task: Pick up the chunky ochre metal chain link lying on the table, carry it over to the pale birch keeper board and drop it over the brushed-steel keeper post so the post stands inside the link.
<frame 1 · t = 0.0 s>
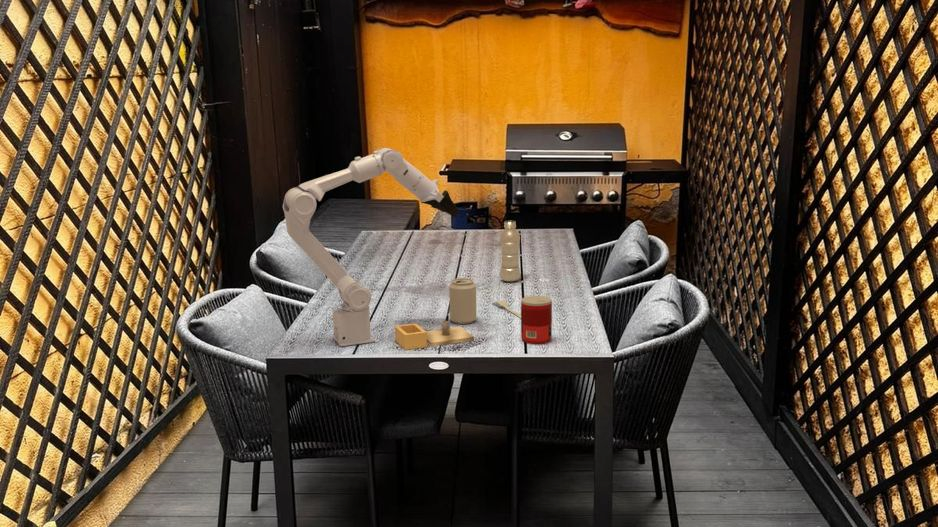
hand: (451, 211, 236), 32 cm above the table, tool tilted 50°, fingers open, 7 cm apart
link: (410, 343, 230), on the table
canned food: (536, 340, 231), on the table
plastic bottle: (510, 281, 292), on the table
keeper: (446, 338, 234), on the table
can: (463, 321, 249), on the table
fork: (510, 313, 257), on the table
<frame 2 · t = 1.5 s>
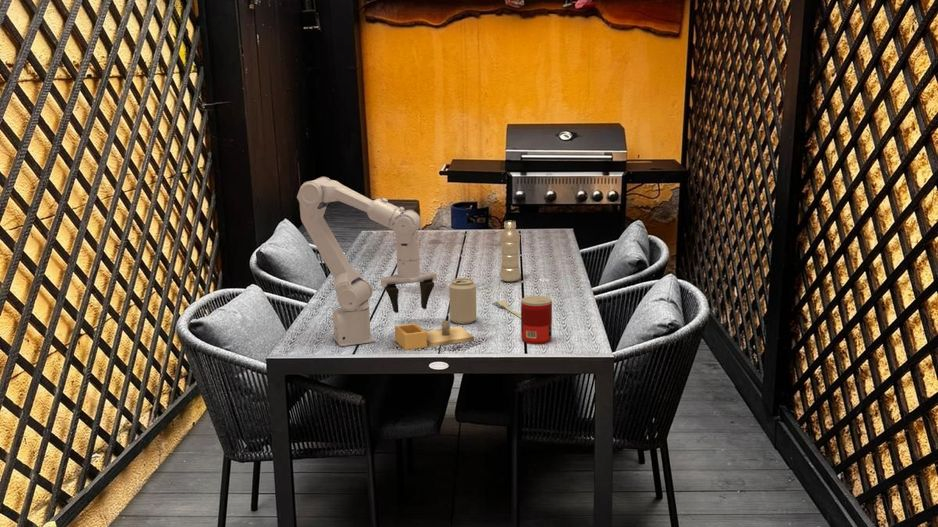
hand: (409, 310, 227), 9 cm above the table, tool pointing down, fingers open, 7 cm apart
nothing on the table moved.
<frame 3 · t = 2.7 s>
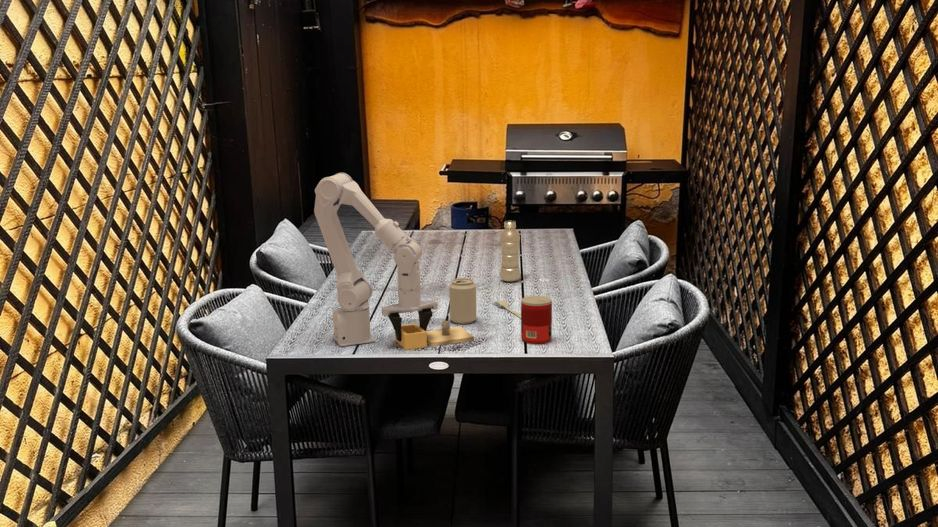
hand: (410, 338, 229), 1 cm above the table, tool pointing down, fingers closed on link, 6 cm apart
link: (410, 343, 230), on the table, touching gripper
everything else where it was.
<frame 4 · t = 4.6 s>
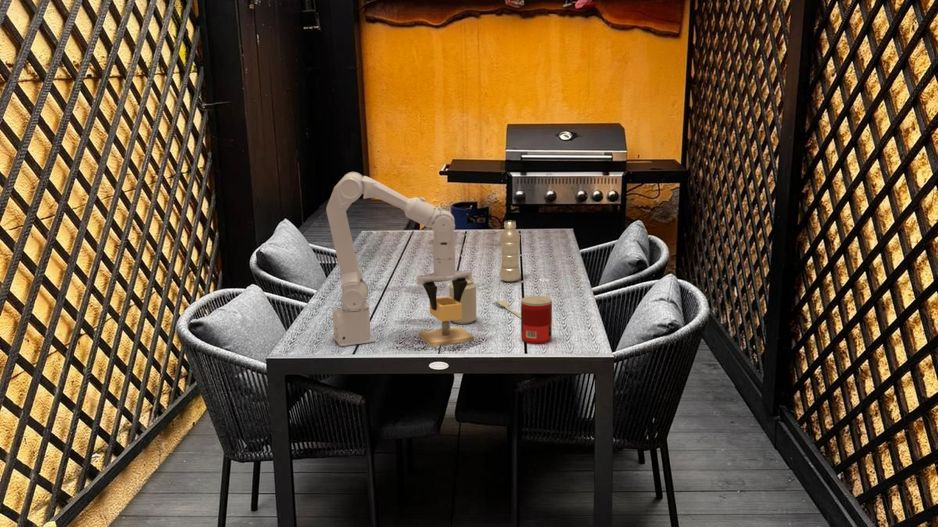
hand: (445, 307, 232), 8 cm above the table, tool pointing down, fingers closed on link, 6 cm apart
link: (445, 316, 232), point 6 cm above the table, touching gripper
everything else where it was.
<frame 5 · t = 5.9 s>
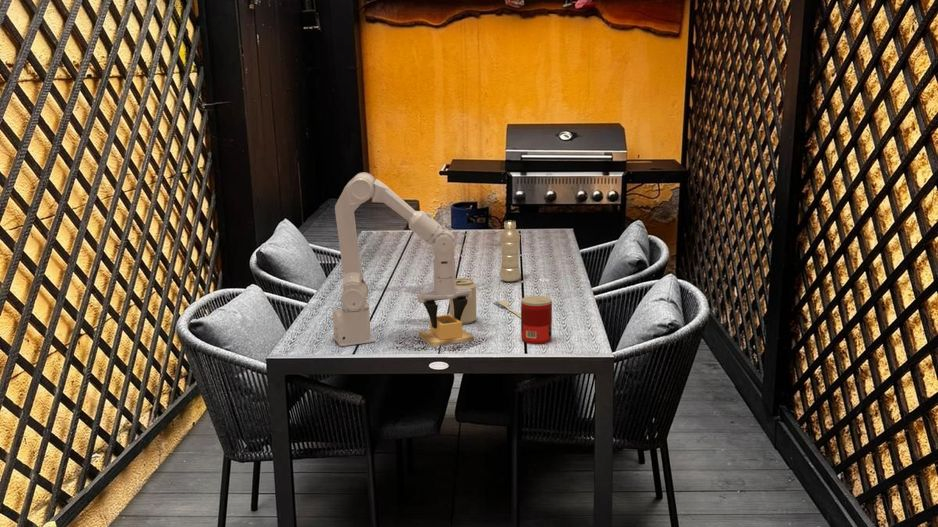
hand: (445, 325, 233), 3 cm above the table, tool pointing down, fingers closed on link, 6 cm apart
link: (446, 334, 233), point 1 cm above the table, touching gripper
everything else where it was.
when the fingers open (3 cm above the table, at t = 6.6 s): link stays where it is, resting on keeper.
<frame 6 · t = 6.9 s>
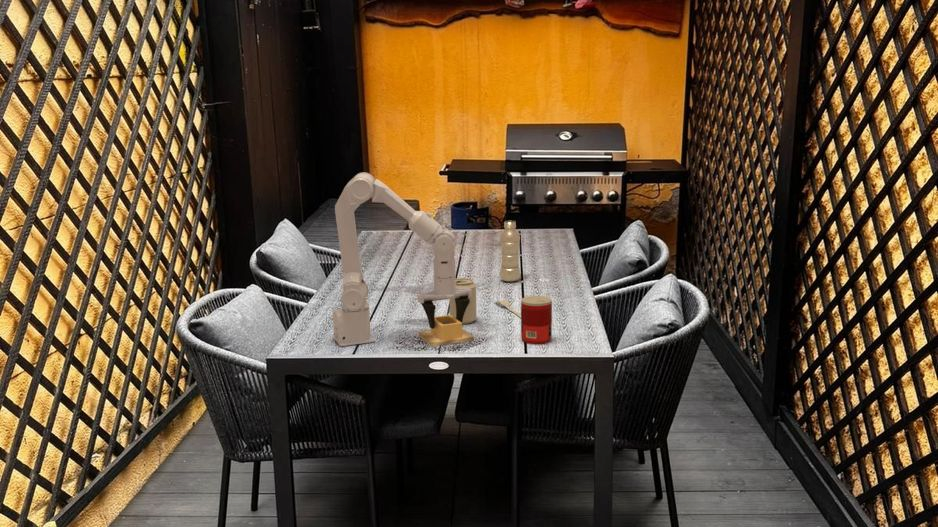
hand: (445, 325, 233), 3 cm above the table, tool pointing down, fingers open, 7 cm apart
link: (446, 334, 233), point 1 cm above the table, touching keeper
everything else where it was.
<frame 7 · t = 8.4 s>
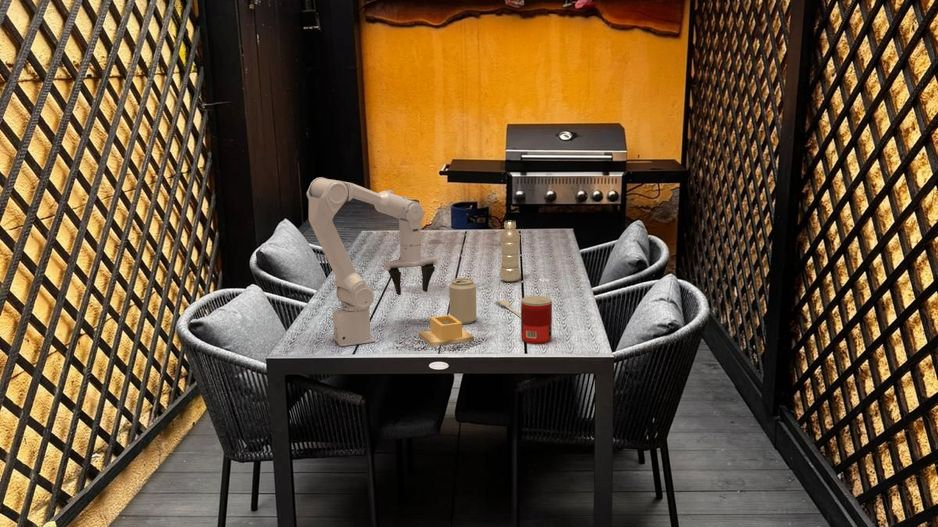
hand: (411, 292, 241), 10 cm above the table, tool pointing down, fingers open, 7 cm apart
nothing on the table moved.
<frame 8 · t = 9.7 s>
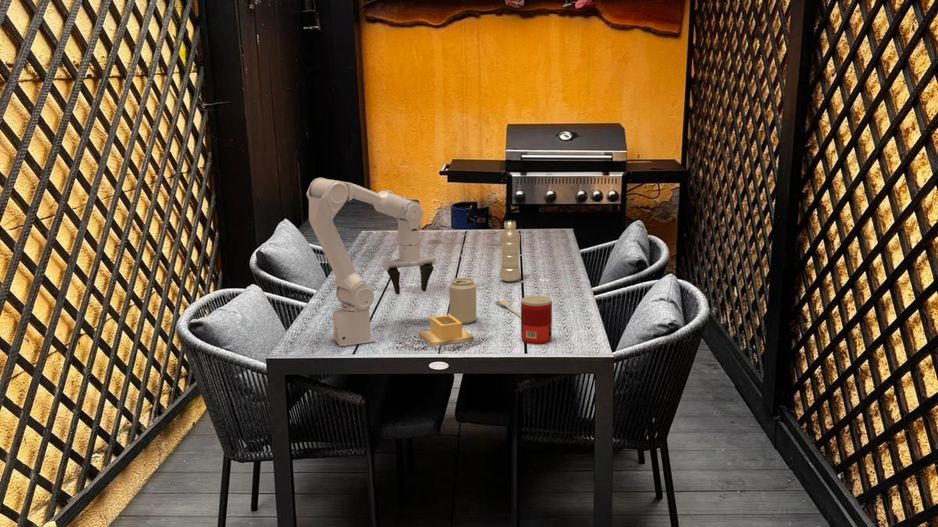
hand: (410, 292, 242), 10 cm above the table, tool pointing down, fingers open, 7 cm apart
nothing on the table moved.
at the end: link 0.2 cm off-centre on the keeper, point 1.0 cm above the keeper's base; the gripper is holding nothing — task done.
